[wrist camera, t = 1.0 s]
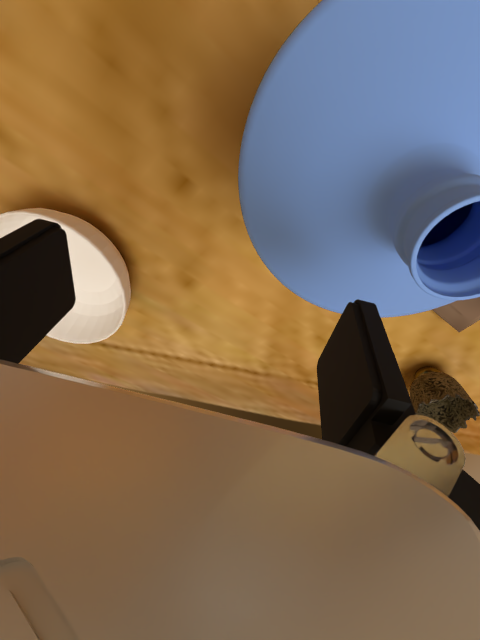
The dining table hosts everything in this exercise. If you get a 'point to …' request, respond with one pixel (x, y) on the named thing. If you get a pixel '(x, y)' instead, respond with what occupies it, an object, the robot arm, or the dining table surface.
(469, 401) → the cup
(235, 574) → the robot arm
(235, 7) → the dining table surface
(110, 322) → the bowl
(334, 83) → the water jug
